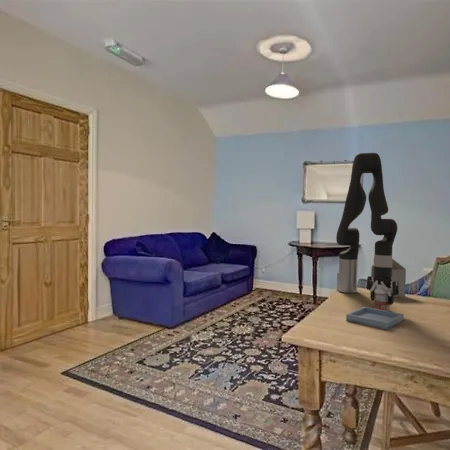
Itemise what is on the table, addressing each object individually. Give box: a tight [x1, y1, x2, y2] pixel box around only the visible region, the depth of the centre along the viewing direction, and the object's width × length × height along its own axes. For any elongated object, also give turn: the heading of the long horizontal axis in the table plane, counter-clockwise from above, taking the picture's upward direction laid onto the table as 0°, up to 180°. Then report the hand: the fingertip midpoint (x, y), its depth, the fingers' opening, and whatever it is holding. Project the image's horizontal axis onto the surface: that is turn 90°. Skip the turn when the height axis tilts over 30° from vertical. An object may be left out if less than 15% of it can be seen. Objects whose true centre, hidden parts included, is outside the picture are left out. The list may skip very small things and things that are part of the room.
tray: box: [345, 306, 405, 331], centre depth 152 cm, size 16×16×2 cm
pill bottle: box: [373, 284, 390, 312], centre depth 167 cm, size 6×6×11 cm
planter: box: [370, 258, 407, 298], centre depth 194 cm, size 16×8×19 cm, turn 59°
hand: (381, 302), depth 167 cm, fingers open, 8 cm apart
